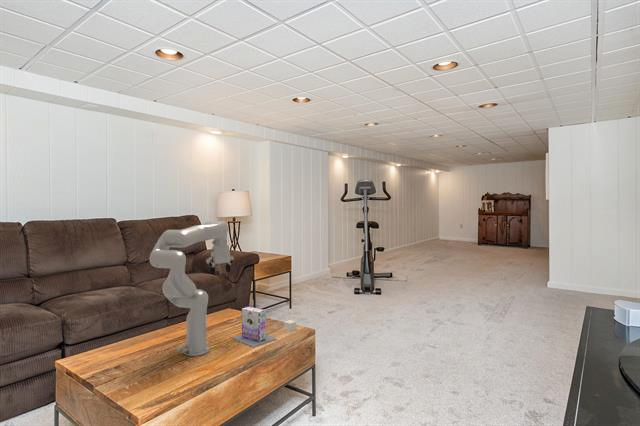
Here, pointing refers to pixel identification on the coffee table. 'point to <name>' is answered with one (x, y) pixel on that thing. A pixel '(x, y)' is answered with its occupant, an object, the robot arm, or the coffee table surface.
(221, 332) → the coffee table surface
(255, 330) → the candy box
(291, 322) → the cream block
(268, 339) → the grey mat
